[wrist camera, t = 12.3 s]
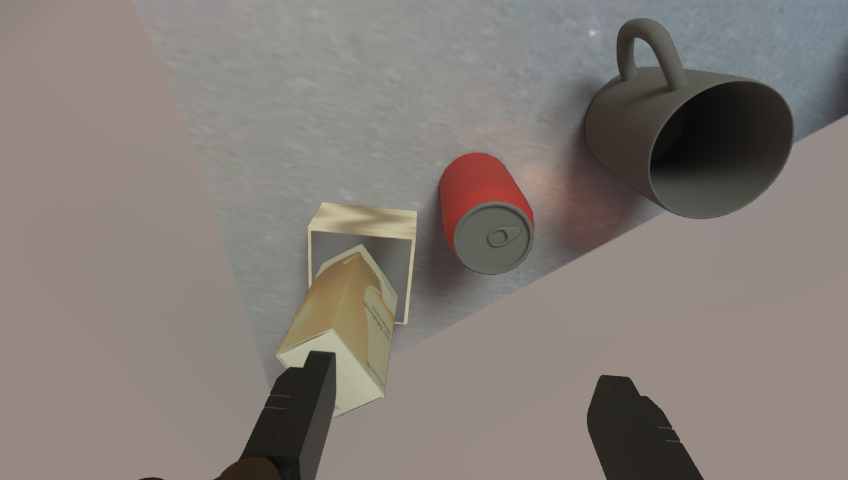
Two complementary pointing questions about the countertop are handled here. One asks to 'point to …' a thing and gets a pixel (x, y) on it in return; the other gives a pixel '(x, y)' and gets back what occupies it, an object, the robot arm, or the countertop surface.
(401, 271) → the birch plinth
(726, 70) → the countertop surface
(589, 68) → the countertop surface
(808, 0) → the countertop surface
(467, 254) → the beer can
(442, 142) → the countertop surface
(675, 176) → the mug
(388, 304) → the skincare box
